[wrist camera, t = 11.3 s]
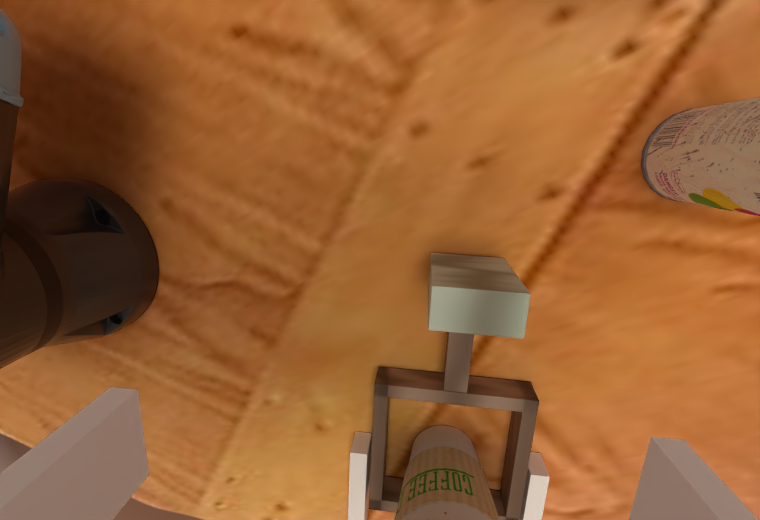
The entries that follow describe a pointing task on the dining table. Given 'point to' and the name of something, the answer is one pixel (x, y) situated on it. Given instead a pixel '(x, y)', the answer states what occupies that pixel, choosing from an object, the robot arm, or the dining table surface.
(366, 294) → the dining table surface
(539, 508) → the light grey u-shaped frame
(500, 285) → the square frame with handle
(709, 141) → the aerosol can
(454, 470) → the coffee cup
